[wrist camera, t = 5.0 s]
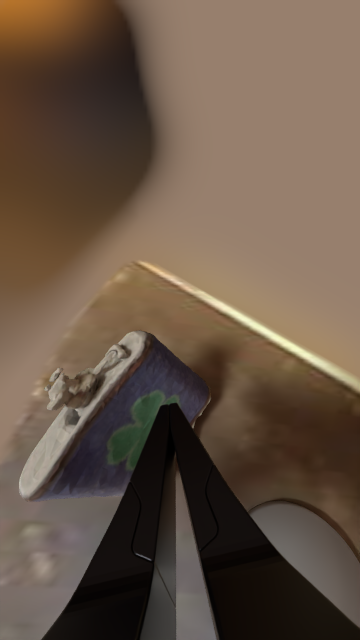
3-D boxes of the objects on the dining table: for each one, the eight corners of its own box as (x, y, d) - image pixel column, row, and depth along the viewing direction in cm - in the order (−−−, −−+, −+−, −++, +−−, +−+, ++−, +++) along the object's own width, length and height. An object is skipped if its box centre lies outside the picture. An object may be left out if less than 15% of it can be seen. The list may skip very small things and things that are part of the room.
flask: (150, 506, 13) (-45, 525, 6) (130, 471, 15) (-31, 457, 8) (218, 390, 15) (134, 311, 9) (193, 374, 18) (109, 301, 11)
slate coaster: (408, 655, 12) (420, 669, 11) (274, 776, 10) (280, 799, 10) (305, 474, 15) (310, 477, 14) (193, 545, 13) (194, 552, 13)
